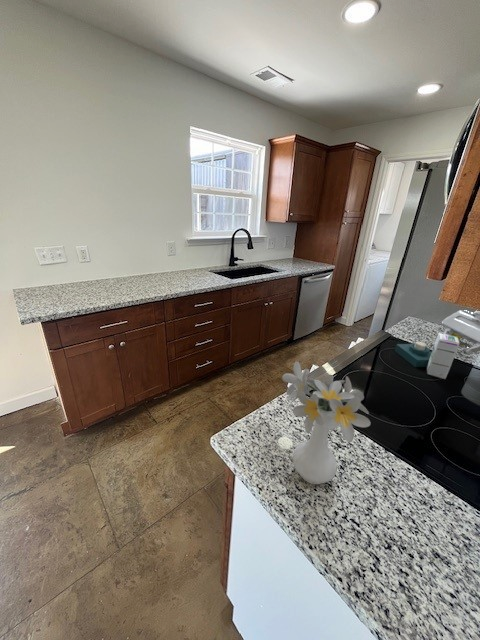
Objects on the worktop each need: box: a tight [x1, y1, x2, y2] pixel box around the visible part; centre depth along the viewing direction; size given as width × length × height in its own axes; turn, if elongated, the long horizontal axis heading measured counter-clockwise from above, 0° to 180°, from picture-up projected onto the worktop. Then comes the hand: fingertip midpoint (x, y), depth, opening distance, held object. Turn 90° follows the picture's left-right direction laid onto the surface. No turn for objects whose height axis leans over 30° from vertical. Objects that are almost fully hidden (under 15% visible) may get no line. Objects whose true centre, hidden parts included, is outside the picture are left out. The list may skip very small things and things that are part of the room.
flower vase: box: [281, 361, 371, 485], centre depth 54 cm, size 13×18×25 cm
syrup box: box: [426, 332, 460, 380], centre depth 93 cm, size 6×6×14 cm
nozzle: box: [414, 341, 427, 350], centre depth 103 cm, size 4×4×2 cm
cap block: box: [394, 342, 432, 368], centre depth 104 cm, size 12×10×5 cm
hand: (453, 346), depth 91 cm, fingers open, 8 cm apart
